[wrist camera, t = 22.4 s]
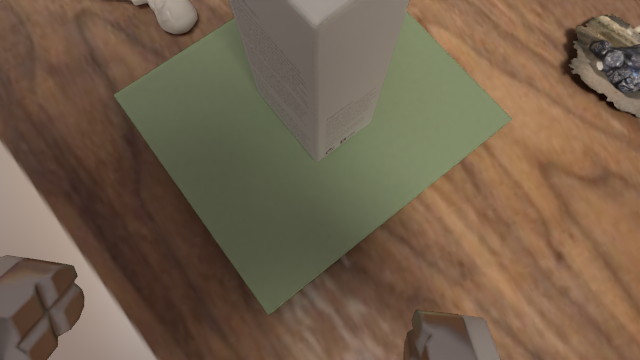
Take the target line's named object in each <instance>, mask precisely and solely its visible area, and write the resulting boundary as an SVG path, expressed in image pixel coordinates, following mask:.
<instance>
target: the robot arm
mask: <svg viewBox="0 0 640 360" xmlns="http://www.w3.org/2000/svg"><path fill="white" fill-rule="evenodd" d="M76 278H77V273H76V271H75V268H74V266H72V265H67V264H62V263H56V262H49V261H43V260H37V259H30V258H22V257H16V256H9V255H6V256H3V257H0V360H47V359H48V358H49V356H50V355H51V354H52V353H53V351H54V350H55V349H56V348H57V346H58V336H60V335H62V334H63V333H65V332H67V331H69V330H71V329H72V327H73V326H74V325H75V323H76V322H77V321H78V319H79V318H80V315H81V312H82V310H83V307H84V294H83V291H82V289H81V288H80V287H79V286H78V285H77V284H75V283H74V281H75V279H76ZM411 321H412V327H413V329H412V330H410V331H409V332H407V335H406V339H405V342H404V352H403V360H501V359H500V356H499V354H498V351H497V349H496V346H495V343H494V341H493V338H492V335H491V333H490V330H489V328H488V325H487V322H486V321H485V320H484V319H483V318H482V317H474V316H466V315H458V314H452V313H444V312H435V311H427V310H418V309H417V310H416V311H415V312H414V314H413V317H412V320H411Z"/></svg>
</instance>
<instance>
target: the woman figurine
mask: <svg viewBox="0 0 640 360" xmlns="http://www.w3.org/2000/svg"><path fill="white" fill-rule="evenodd" d="M129 1H132V2H133V4H134V5H135V6H136V5H141V4H145V3H148V4H149V6H150V8H151V9H152V10H153V11H154V13H155V15H156V18H157V21H158V23H159V25H160V27H161V28H162V29H163V30H165V31H167V32H170V33H172V34H182V33H185V32H188V31H189V30H190V29H191V28H192V27H193V26H194V24H195V23H196V21H197V19H198V18H197V10H196V9H195V8H194V6H193V5H192V4H191V3H190V1H189V0H129Z"/></svg>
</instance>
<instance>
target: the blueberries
mask: <svg viewBox="0 0 640 360" xmlns="http://www.w3.org/2000/svg"><path fill="white" fill-rule="evenodd" d="M586 25H588V27H584V26H578V27H576V31H575V32H576V34H577V33H578V34H577V37H578V41H577V40H576V41H575V42H574V41H573V43H575V45H574V49H577V53H578V57H577V58H574V59H573V60H571V61H572V64H571V65H570V64H569V65H568V66H570V67H572V68H574V70H573V71H571V72H572V74H579V75H581V80H583V81H584V82H585V83H586V85H588V86H589V87H591V88H592V89H594V90H597V92H598V93H604V94H605V95H606V96H607V97H608V99H607V101H611V102H614V106H616V108H618V109H620V110H621V111H626V112H627V111H628V112H630V113H631V114H636V116H637V118H638V117H639V118H640V35H639V34H638V33H639V32H640V25H639V27H635V29H633V28H631V27H630V24H627V23H624V21H622V19H621V18H620V17H619V18H618V17H616V16H614V15H613V14H611V16H608V15H606V16H598V17H596V18H594V19H592V20H590V21H588V24H587V23H586ZM615 92H617V93H615Z"/></svg>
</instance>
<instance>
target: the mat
mask: <svg viewBox="0 0 640 360" xmlns="http://www.w3.org/2000/svg"><path fill="white" fill-rule="evenodd" d="M114 97H115V98H116V100H117V101H118V102H119V104H120V105H121V107H122V108H123V110H124V111H125V112H126V114H127V115H128V117H129V118H130V120H131V121H132V122H133V124H134V125H135V127H136V128H137V129H138V131H139V132H140V134H141V135H142V137H143V138H144V139H145V141H146V142H147V144H148V145H149V147H150V148H151V149H152V151H153V152H154V154H155V155H156V156H157V158H158V159H159V161H160V162H161V164H162V165H163V166H164V168H165V169H166V171H167V172H168V174H169V175H170V176H171V178H172V179H173V181H174V182H175V183H176V185H177V186H178V188H179V189H180V191H181V192H182V193H183V195H184V196H185V198H186V199H187V201H188V202H189V203H190V205H191V206H192V208H193V209H194V210H195V212H196V213H197V215H198V216H199V218H200V219H201V220H202V222H203V223H204V225H205V226H206V228H207V229H208V230H209V232H210V233H211V235H212V236H213V237H214V239H215V240H216V242H217V243H218V245H219V246H220V247H221V249H222V250H223V252H224V253H225V255H226V256H227V257H228V259H229V260H230V262H231V263H232V265H233V266H234V267H235V269H236V270H237V272H238V273H239V274H240V276H241V277H242V279H243V280H244V282H245V283H246V284H247V286H248V287H249V289H250V290H251V292H252V293H253V294H254V296H255V297H256V299H257V300H258V301H259V303H260V304H261V306H262V307H263V309H264V310H265V311H266V313H267V314H268V315H270V314H271V313H272V312H274V311H275V310H276V309H277V308H279V307H280V306H281V305H282V304H284V303H285V302H286V301H287V300H289V299H290V298H291V297H292V296H294V295H295V294H296V293H297V292H298V291H300V290H301V289H302V288H303V287H305V286H306V285H307V284H308V283H310V282H311V281H312V280H313V279H315V278H316V277H317V276H318V275H320V274H321V273H322V272H323V271H325V270H326V269H327V268H328V267H330V266H331V265H332V264H333V263H334V262H336V261H337V260H338V259H339V258H341V257H342V256H343V255H344V254H346V253H347V252H348V251H349V250H351V249H352V248H353V247H354V246H356V245H357V244H358V243H359V242H361V241H362V240H363V239H364V238H366V237H367V236H368V235H369V234H370V233H372V232H373V231H374V230H375V229H377V228H378V227H379V226H380V225H382V224H383V223H384V222H385V221H387V220H388V219H389V218H390V217H392V216H393V215H394V214H395V213H397V212H398V211H399V210H400V209H402V208H403V207H404V206H405V205H406V204H408V203H409V202H410V201H411V200H413V199H414V198H415V197H416V196H418V195H419V194H420V193H421V192H423V191H424V190H425V189H426V188H428V187H429V186H430V185H431V184H433V183H434V182H435V181H436V180H438V179H439V178H440V177H441V176H442V175H444V174H445V173H446V172H447V171H449V170H450V169H451V168H452V167H454V166H455V165H456V164H457V163H459V162H460V161H461V160H462V159H464V158H465V157H466V156H467V155H469V154H470V153H471V152H472V151H473V150H475V149H476V148H477V147H478V146H480V145H481V144H482V143H483V142H485V141H486V140H487V139H488V138H490V137H491V136H492V135H493V134H495V133H496V132H497V131H498V130H500V129H501V128H502V127H503V126H505V125H506V124H507V123H508V122H509V121H511V120H512V118H511V117H510V116H509V115H508V114H507V113H506V112H505V111H504V110H503V109H502V108H501V107H500V106H499V105H498V104H497V103H496V102H495V101H494V100H493V99H492V98H491V97H490V96H489V95H488V94H487V93H486V92H485V90H484V89H483V88H482V87H481V86H480V85H479V84H478V83H477V82H476V81H475V80H474V79H473V78H472V77H471V76H470V75H469V74H468V73H467V72H466V71H465V70H464V69H463V68H462V67H461V66H460V65H459V64H458V63H457V62H456V61H455V60H454V59H453V58H452V57H451V56H450V55H449V54H448V53H447V52H446V51H445V50H444V49H443V48H442V47H441V46H440V45H439V44H438V42H437V41H436V40H435V39H434V38H433V37H432V36H431V35H430V34H429V33H428V32H427V31H426V30H425V29H424V28H423V27H422V26H421V25H420V24H419V23H418V22H417V21H416V20H415V19H414V18H413V17H412V16H411V15H410V14H409V13H408V12H407V11H406V13H405V17H404V20H403V23H402V26H401V29H400V32H399V35H398V39H397V42H396V45H395V48H394V51H393V54H392V57H391V60H390V64H389V67H388V70H387V73H386V76H385V79H384V82H383V85H382V88H381V92H380V95H379V98H378V101H377V104H376V107H375V110H374V113H373V117H372V120H371V122H370V123H369V124H368V125H367V126H366V127H364V128H363V129H361V130H360V131H359V132H357V133H356V134H355V135H353V136H352V137H351V138H349V139H348V140H347V141H345V142H344V143H343V144H342V145H340V146H339V147H338V148H336V149H335V150H334V151H332V152H331V153H329V154H328V155H327V156H325V157H324V158H323V159H321V160H320V161H319V162H315V161H314V159H313V158H312V157H311V155H310V154H309V153H308V152H307V151H306V149H305V148H304V147H303V146H302V145H301V143H300V142H299V141H298V140H297V139H296V137H295V136H294V135H293V134H292V132H291V131H290V130H289V129H288V128H287V126H286V125H285V124H284V123H283V122H282V120H281V119H280V118H279V117H278V115H277V114H276V113H275V112H274V111H273V109H272V108H271V107H270V106H269V104H268V103H267V102H266V101H265V100H264V98H263V97H262V96H261V95H260V93H259V92H258V90H257V87H256V84H255V81H254V77H253V74H252V71H251V68H250V65H249V61H248V58H247V56H246V53H245V49H244V46H243V43H242V40H241V37H240V34H239V31H238V28H237V25H236V22H235V19H234V18H233V19H231V20H230V21H228V22H227V23H225V24H224V25H222V26H220V27H219V28H217V29H216V30H214V31H213V32H211V33H210V34H208V35H206V36H205V37H203V38H202V39H200V40H199V41H197V42H195V43H194V44H192V45H191V46H189V47H188V48H186V49H185V50H183V51H181V52H180V53H178V54H177V55H175V56H174V57H172V58H170V59H169V60H167V61H166V62H164V63H163V64H161V65H160V66H158V67H156V68H155V69H153V70H152V71H150V72H149V73H147V74H145V75H144V76H142V77H141V78H139V79H138V80H136V81H134V82H133V83H131V84H130V85H128V86H127V87H125V88H124V89H122V90H120V91H119V92H117V93H116V94H114Z"/></svg>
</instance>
